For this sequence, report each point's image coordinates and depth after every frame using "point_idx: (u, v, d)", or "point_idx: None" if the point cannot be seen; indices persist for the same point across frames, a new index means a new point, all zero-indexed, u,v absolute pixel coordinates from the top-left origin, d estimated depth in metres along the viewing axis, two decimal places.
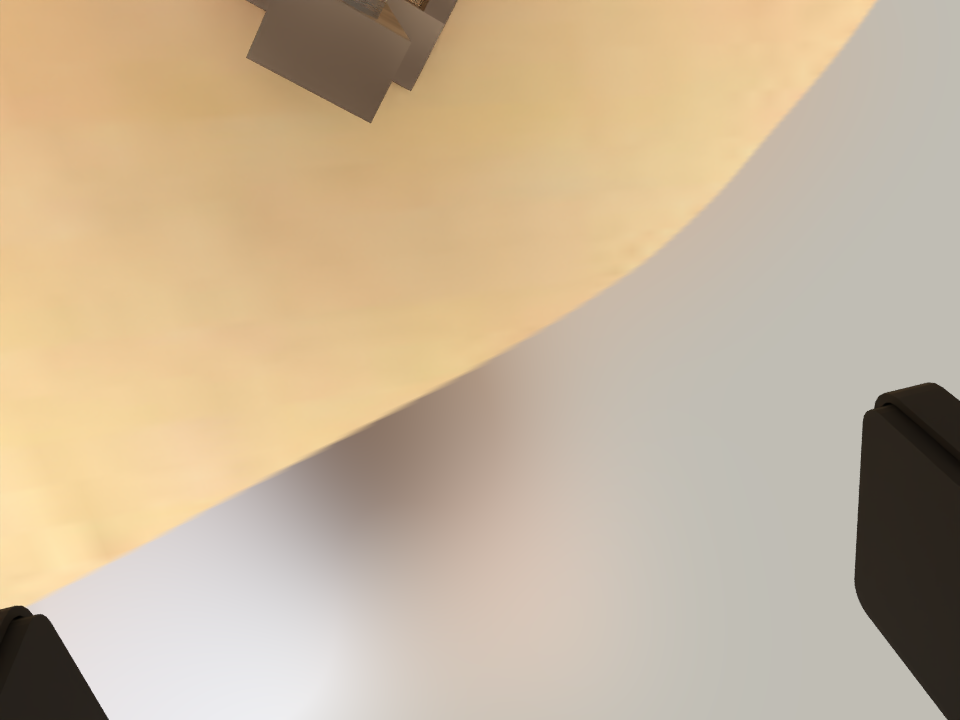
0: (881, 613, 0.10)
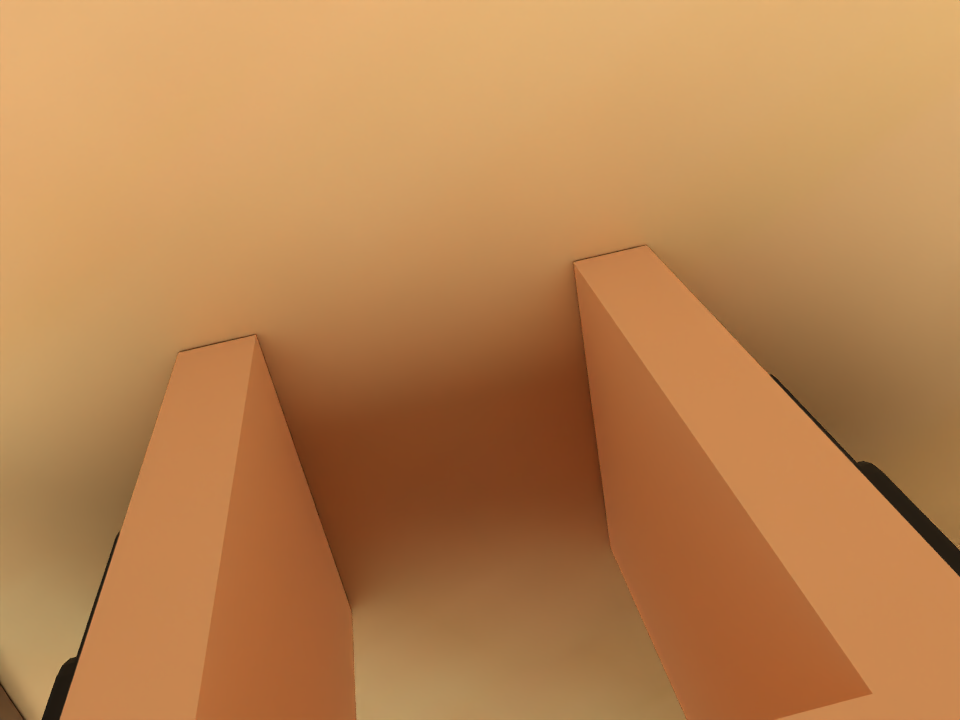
0: None
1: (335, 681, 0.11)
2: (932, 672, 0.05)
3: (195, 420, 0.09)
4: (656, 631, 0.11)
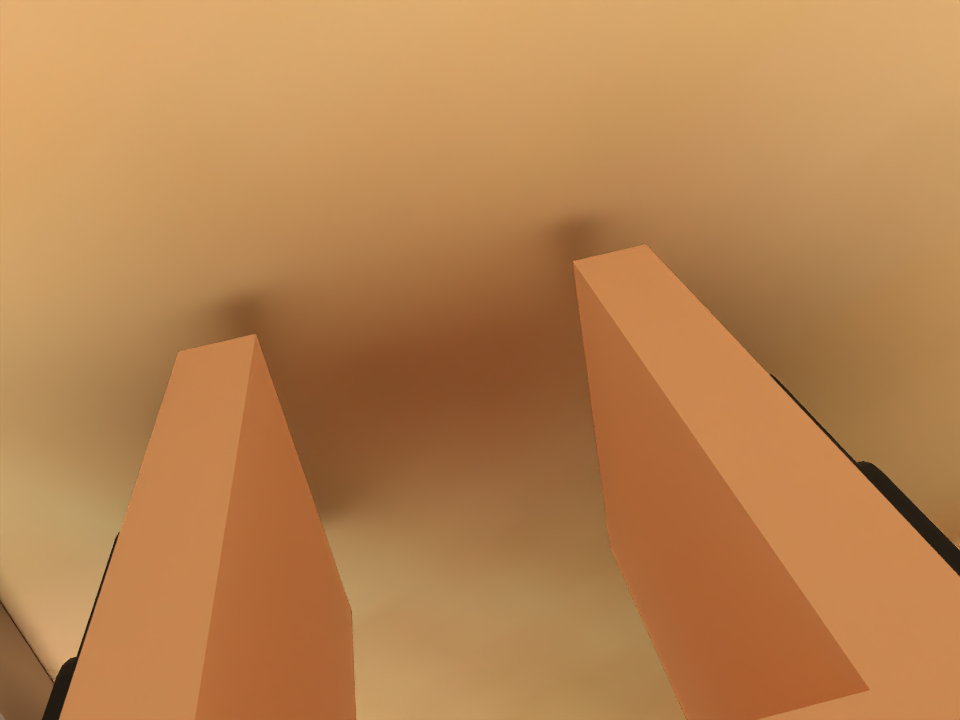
0: None
1: (335, 679, 0.11)
2: (930, 669, 0.05)
3: (195, 419, 0.09)
4: (655, 629, 0.11)
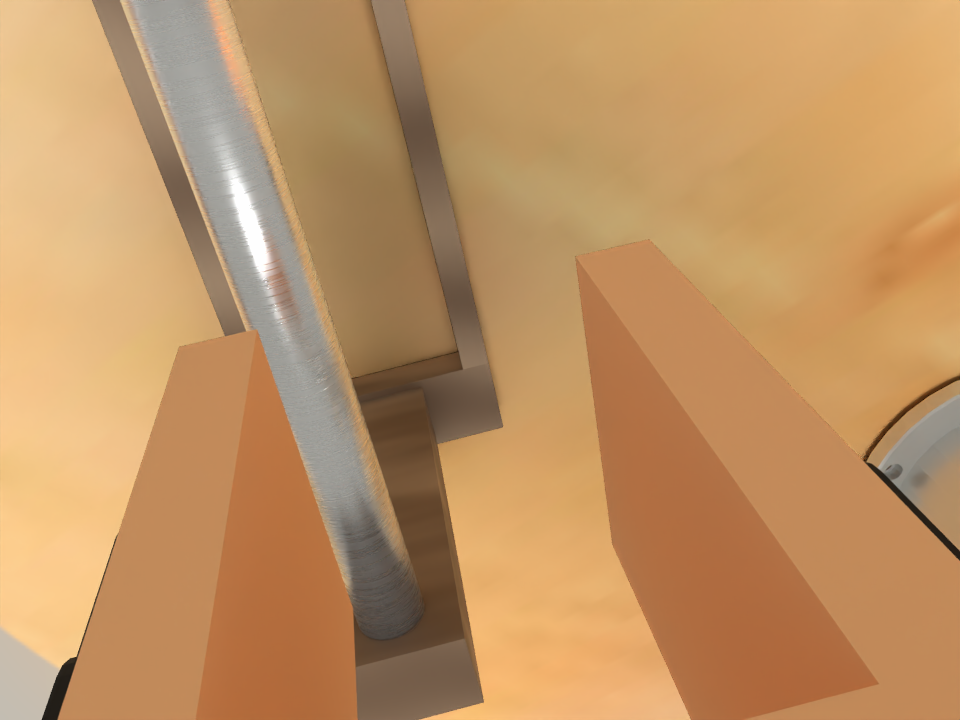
0: None
1: (336, 676, 0.11)
2: (940, 663, 0.05)
3: (196, 413, 0.09)
4: (658, 627, 0.11)
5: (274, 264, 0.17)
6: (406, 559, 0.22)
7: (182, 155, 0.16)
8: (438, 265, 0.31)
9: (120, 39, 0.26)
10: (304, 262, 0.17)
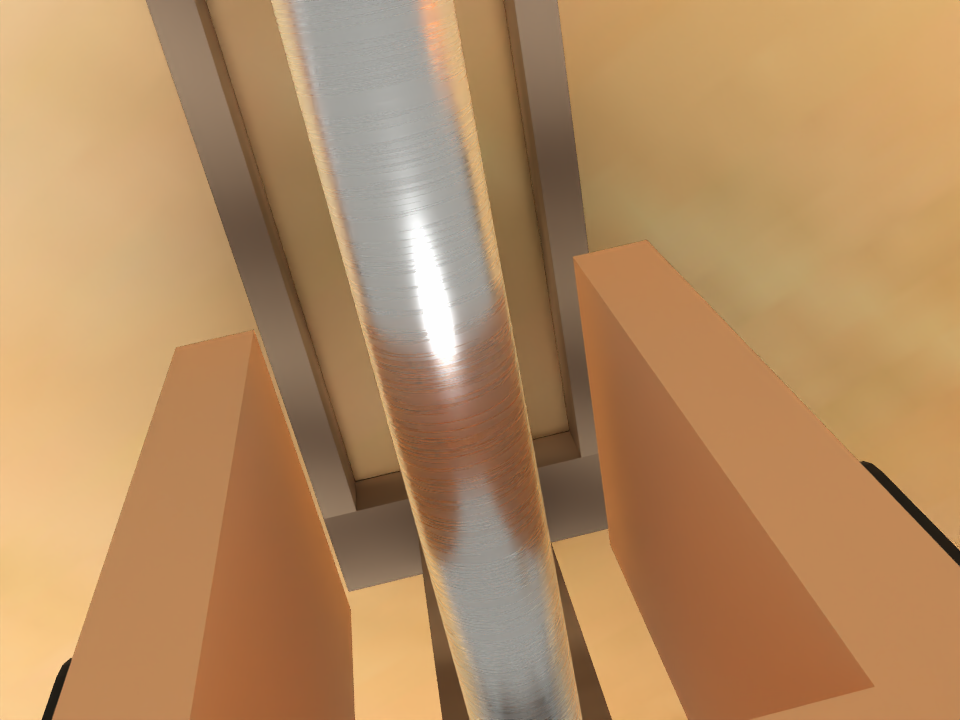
0: None
1: (333, 678, 0.11)
2: (935, 665, 0.05)
3: (192, 414, 0.09)
4: (656, 628, 0.11)
5: (481, 416, 0.10)
6: None
7: (347, 240, 0.09)
8: (564, 331, 0.24)
9: (174, 31, 0.19)
10: (520, 406, 0.11)
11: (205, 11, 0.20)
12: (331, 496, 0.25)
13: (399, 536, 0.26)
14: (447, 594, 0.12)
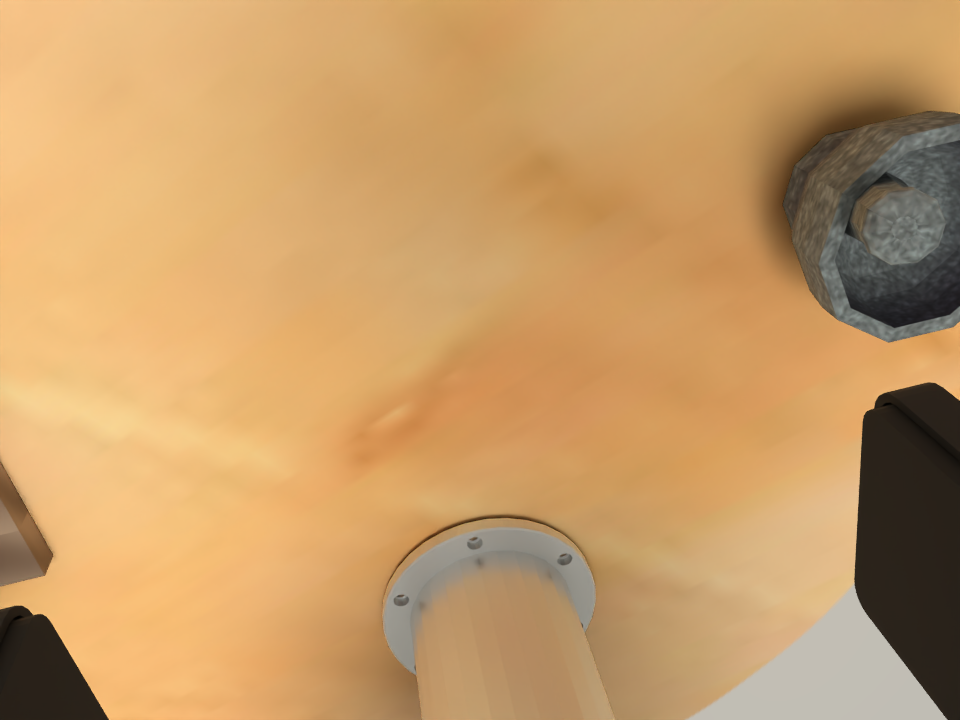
0: (881, 613, 0.10)
1: None
2: None
3: None
4: None
5: None
6: None
7: None
8: None
9: None
10: None
11: None
12: None
13: None
14: None
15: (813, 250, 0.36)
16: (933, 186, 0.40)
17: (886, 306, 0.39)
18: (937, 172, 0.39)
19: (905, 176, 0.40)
